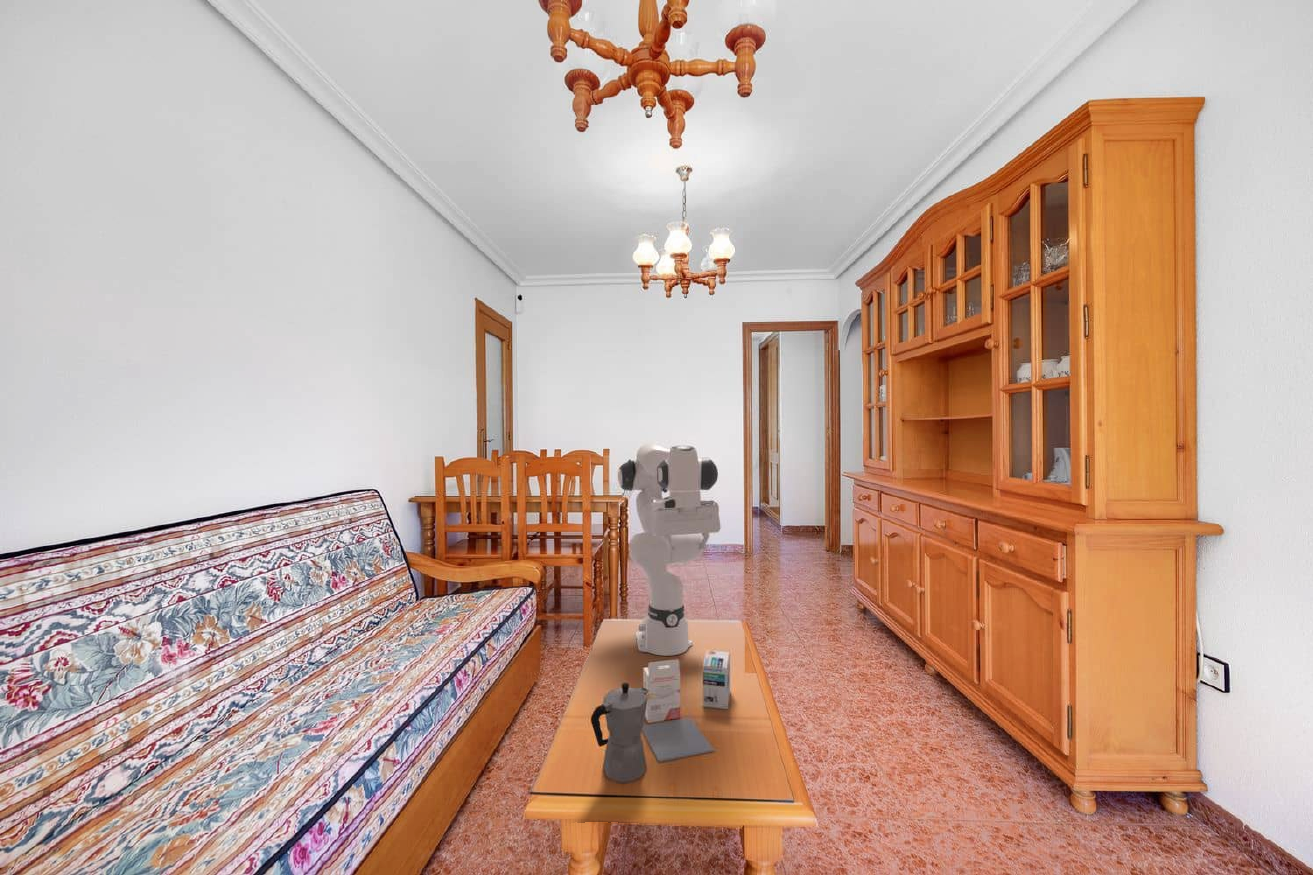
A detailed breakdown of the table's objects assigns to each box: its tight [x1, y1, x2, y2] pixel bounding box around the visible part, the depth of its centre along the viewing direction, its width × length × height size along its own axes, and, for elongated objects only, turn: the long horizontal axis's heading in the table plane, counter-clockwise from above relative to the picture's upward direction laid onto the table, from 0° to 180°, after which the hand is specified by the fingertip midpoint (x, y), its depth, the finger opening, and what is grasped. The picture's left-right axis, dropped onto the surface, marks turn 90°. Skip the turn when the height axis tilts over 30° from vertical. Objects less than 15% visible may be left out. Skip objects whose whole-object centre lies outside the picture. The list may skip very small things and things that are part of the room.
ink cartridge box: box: [642, 658, 681, 724], centre depth 130 cm, size 9×5×15 cm, turn 106°
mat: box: [641, 717, 715, 763], centre depth 119 cm, size 14×13×1 cm
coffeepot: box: [590, 682, 649, 784], centre depth 108 cm, size 15×9×18 cm, turn 134°
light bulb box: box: [702, 650, 731, 710], centre depth 139 cm, size 11×7×11 cm, turn 168°
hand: (687, 550), depth 146 cm, fingers open, 8 cm apart
